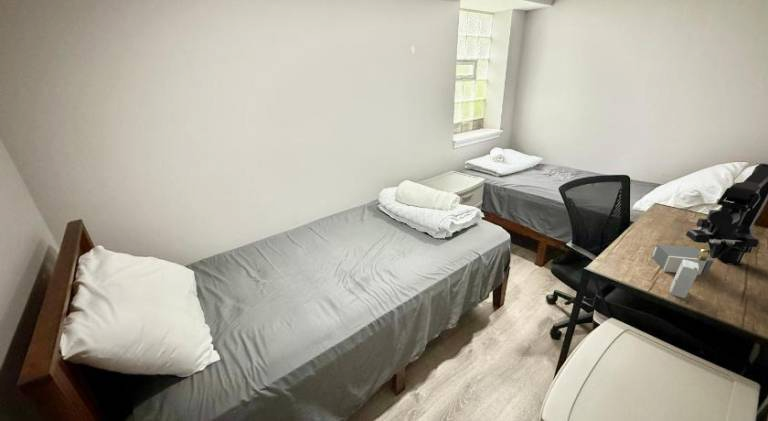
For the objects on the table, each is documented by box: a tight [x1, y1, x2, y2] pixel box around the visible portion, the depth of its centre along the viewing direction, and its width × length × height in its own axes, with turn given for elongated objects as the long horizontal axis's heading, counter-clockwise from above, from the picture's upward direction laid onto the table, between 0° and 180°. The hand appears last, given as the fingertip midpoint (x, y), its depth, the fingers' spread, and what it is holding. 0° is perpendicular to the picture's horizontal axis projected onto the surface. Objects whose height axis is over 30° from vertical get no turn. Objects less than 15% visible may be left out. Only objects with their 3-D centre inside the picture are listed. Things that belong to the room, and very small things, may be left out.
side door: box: [662, 248, 710, 276], centre depth 120 cm, size 12×2×11 cm, turn 76°
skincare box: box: [669, 259, 699, 299], centre depth 110 cm, size 6×4×12 cm
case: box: [651, 243, 714, 276], centre depth 126 cm, size 14×10×6 cm
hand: (712, 257), depth 118 cm, fingers closed
